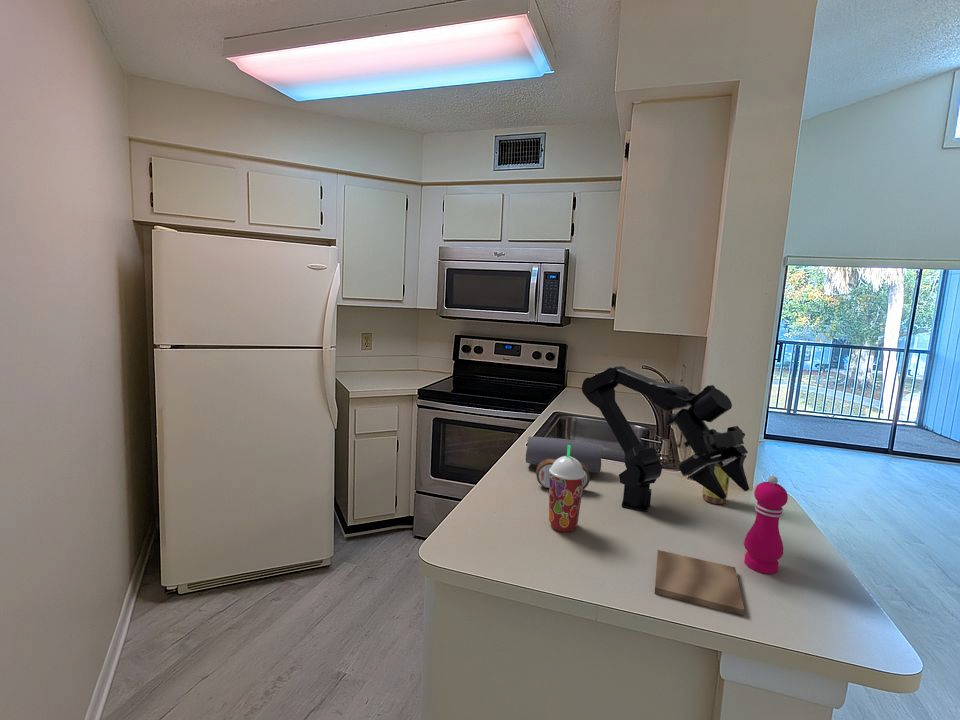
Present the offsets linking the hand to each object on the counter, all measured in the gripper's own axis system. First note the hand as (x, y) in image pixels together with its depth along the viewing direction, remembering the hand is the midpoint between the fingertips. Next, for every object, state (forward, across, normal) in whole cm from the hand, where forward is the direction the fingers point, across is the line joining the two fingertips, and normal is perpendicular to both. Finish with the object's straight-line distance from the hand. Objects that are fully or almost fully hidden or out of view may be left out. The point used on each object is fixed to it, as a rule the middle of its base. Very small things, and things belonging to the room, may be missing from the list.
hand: (736, 494), depth 109 cm
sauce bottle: (-3, +23, +22) cm, 32 cm away
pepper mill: (+14, 0, +5) cm, 15 cm away
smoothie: (-9, -26, +28) cm, 39 cm away
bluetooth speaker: (-29, 0, +48) cm, 56 cm away
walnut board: (+12, -18, +7) cm, 23 cm away
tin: (-21, -11, +40) cm, 46 cm away
